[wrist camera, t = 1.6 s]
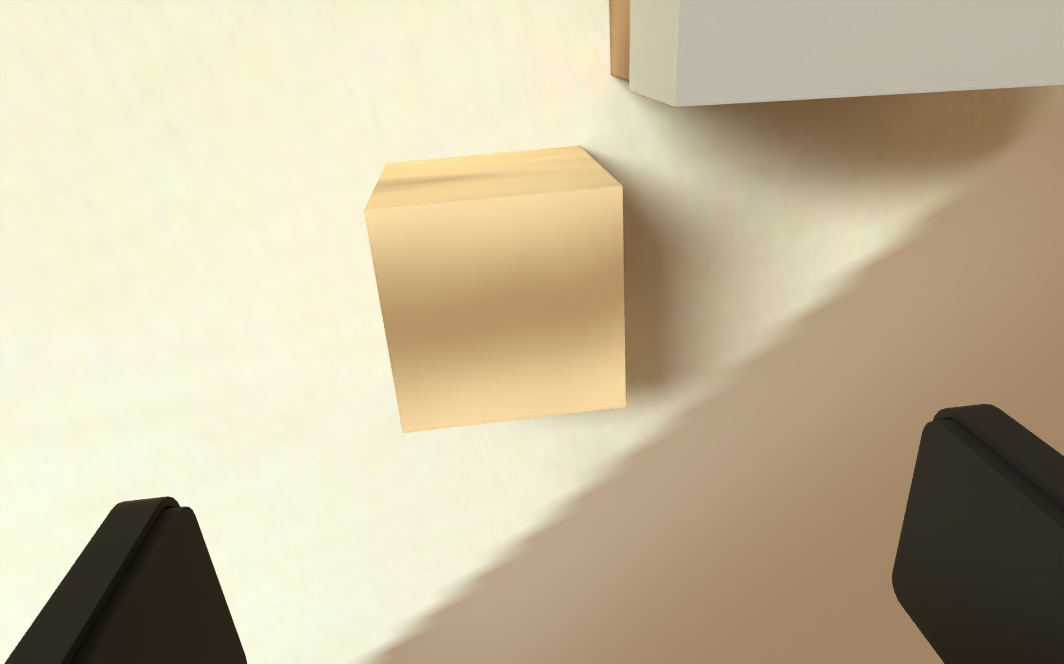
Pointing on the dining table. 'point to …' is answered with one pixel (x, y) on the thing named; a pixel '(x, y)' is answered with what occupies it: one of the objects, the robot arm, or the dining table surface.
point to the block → (500, 286)
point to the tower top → (839, 48)
